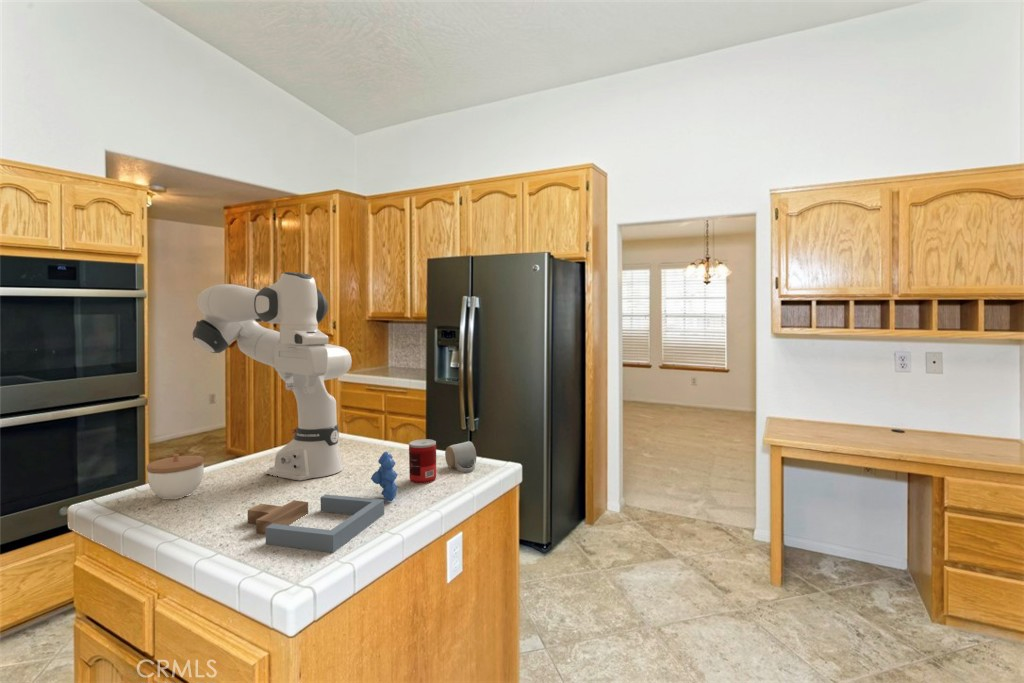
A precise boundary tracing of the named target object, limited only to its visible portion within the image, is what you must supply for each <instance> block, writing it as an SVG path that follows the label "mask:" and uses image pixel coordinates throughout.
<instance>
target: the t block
mask: <svg viewBox="0 0 1024 683" xmlns="http://www.w3.org/2000/svg"><path fill="white" fill-rule="evenodd" d="M306 514H307V515H309V501H305V500H304V501H303V500H295V499H294V500H292V501H290V502H287V503H286V504H284V505H275V504H267V503H259V504H257V505H255V506H253V507H251V508H249V509H247V524H254V525H255V530H256V532H255V533H256V534H258V535H266V532H265V527H267V526H269V525H271V524H281V525H289V526H291V525H292V524H293V522H294V523H295V522H297V521H299V520H301V519H302V518H304V517H306V516H307V515H306ZM305 515H306V516H305ZM303 516H304V517H303ZM301 517H302V518H301ZM298 519H299V520H298ZM296 520H297V521H296Z"/></svg>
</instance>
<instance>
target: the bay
mask: <svg viewBox="0 0 1024 683" xmlns="http://www.w3.org/2000/svg"><path fill="white" fill-rule="evenodd" d="M319 500H320V512H322V511H324V512H323V513H325V512H326V513H332V512H336V513H335V514H341V513H346V514H345V515H351V514H354V515H351V516H349V517H348V518H346V519H345V520H343V521H341V522H339V523H338V524H337V525H336V526H334V527H333V528H331V529H323V528H314V527H306V526H297V525H281V524H271V525H269V526H267V527H265V532H266V534H265V545H268V546H269V545H271V546H276V547H278V546H280V547H286V548H295V549H302V550H308V551H309V550H310V551H318V552H319V551H320V552H326V553H333V554H334V553H335V552H336V551H337V549H338V550H339V549H340V548H342V547H343V546H344V545H345V543H346V544H347V543H348V542H350V541H351V540H352V539H353V538H355V537H357V535H358V534H360V533H362V532H363V531H364V530H366V529H367V528H368V527H370V525H372V524H373V523H375V522H376V521H378V520H379V519H380V518H382V517H383V516H384V515H385V499H378V498H370V497H360V496H359V497H358V496H348V495H347V496H345V495H339V494H338V495H337V494H336V495H335V494H324V495H321V496H320V499H319ZM341 546H342V547H341Z"/></svg>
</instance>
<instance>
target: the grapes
mask: <svg viewBox="0 0 1024 683" xmlns="http://www.w3.org/2000/svg"><path fill="white" fill-rule="evenodd" d="M393 458H394V457H393V455H392V454H391V453H390V452H389V451H384V452H383V453H382V454H381V456H380V457H379V459H378V461H377V462H378V463H379V465H380V466H379V468H378V469H377V471H375V472H373V474H372V475H371V477H370V480H371V481H372V482H373V483H374V484H375V485H379V486H380V487H381V488H382V489H383V490H382V491H381V495H382V496H383V497H384V498H385V500H387V501H388V502H392V501H394V499H395V498H396V496H397V491H398V488H399V486H398V485H397V483H395V481H396V480H397V477H398V473H397V472H396V471H395V470H394V466H395V465H396V462H395V460H394V459H393Z"/></svg>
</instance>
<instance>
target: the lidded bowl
mask: <svg viewBox="0 0 1024 683" xmlns="http://www.w3.org/2000/svg"><path fill="white" fill-rule="evenodd" d="M204 463H205V458H204V456H201V455H189V454H188V455H180V454H179V453H175V454H172V457H171V456H170V457H165V458H162V459H158V460H154V461H152V462H149V463H148V464H147V465H146V472H147V481H148V484H149V488H150V490H151V491H152V493H154V494H155V495H156V496H158V497H160V499H161V498H162V499H161V500H163V499H174V500H178V499H177V498H180V499H182V498H181V497H184V496H187V495H189V494H191V493H193V494H194V491H196V490H197V488H198V487H199V486H200V484H201V483H202V481H203V476H204V467H205V465H204ZM191 495H192V494H191ZM187 497H188V496H187ZM184 498H185V497H184Z"/></svg>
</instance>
